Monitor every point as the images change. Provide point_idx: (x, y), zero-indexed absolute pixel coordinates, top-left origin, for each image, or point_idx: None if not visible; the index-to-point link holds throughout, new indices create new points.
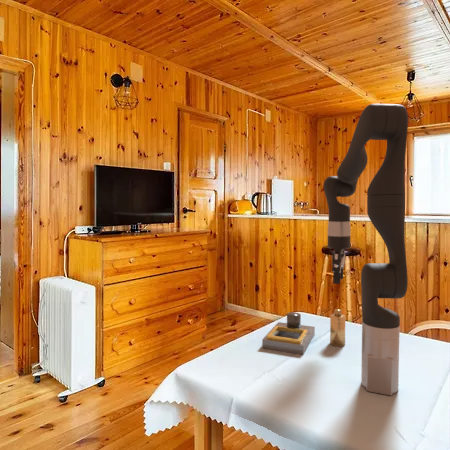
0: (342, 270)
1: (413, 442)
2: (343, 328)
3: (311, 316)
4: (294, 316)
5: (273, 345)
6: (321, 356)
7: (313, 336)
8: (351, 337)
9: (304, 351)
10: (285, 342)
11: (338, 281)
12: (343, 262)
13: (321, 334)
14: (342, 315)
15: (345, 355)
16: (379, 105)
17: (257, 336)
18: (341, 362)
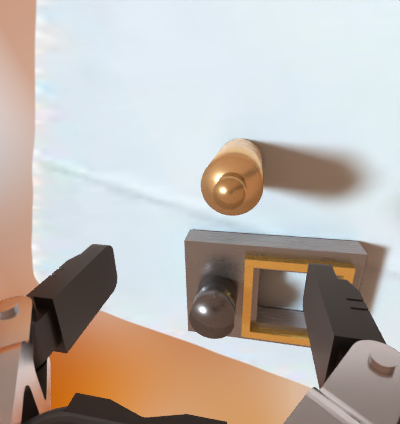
0: (66, 291)
1: None
2: (251, 152)
3: (45, 251)
4: (232, 317)
5: None
6: (352, 194)
7: (207, 231)
8: (161, 125)
9: (344, 242)
10: None
11: (353, 287)
12: (23, 375)
13: (175, 212)
14: (220, 168)
15: (325, 128)
16: None
17: (256, 350)
18: (387, 134)
